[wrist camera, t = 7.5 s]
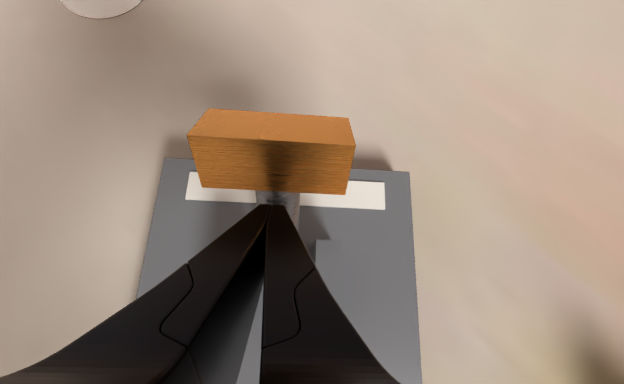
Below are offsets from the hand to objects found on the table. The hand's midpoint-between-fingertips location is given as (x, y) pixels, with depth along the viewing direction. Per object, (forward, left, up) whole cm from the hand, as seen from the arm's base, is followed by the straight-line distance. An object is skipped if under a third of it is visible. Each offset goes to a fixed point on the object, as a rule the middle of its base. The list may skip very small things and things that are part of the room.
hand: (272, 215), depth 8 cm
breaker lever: (-3, 0, -7) cm, 8 cm away
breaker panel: (-3, 0, -11) cm, 11 cm away
